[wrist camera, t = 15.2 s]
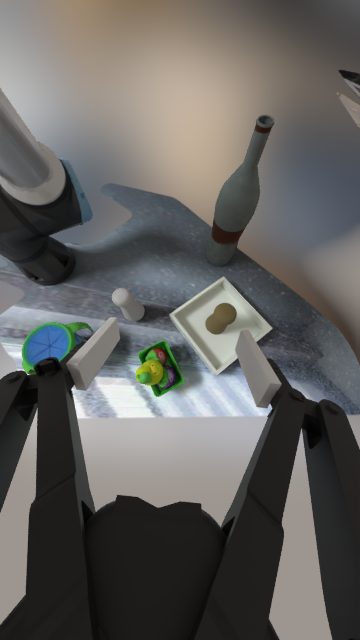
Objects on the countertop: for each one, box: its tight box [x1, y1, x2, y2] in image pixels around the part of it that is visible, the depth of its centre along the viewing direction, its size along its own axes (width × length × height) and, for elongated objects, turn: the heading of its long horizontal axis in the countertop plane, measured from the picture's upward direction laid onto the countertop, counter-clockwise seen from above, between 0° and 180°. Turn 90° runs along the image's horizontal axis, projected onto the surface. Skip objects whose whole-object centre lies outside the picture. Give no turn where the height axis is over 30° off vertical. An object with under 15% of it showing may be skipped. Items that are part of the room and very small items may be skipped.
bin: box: [169, 276, 273, 376], centre depth 43 cm, size 20×20×4 cm
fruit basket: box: [136, 340, 184, 397], centre depth 36 cm, size 11×9×11 cm
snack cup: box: [22, 322, 94, 375], centre depth 38 cm, size 16×10×10 cm
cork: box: [205, 303, 237, 335], centre depth 39 cm, size 6×6×11 cm
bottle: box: [206, 115, 274, 266], centre depth 37 cm, size 9×9×30 cm
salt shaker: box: [112, 288, 145, 321], centre depth 40 cm, size 6×6×13 cm
